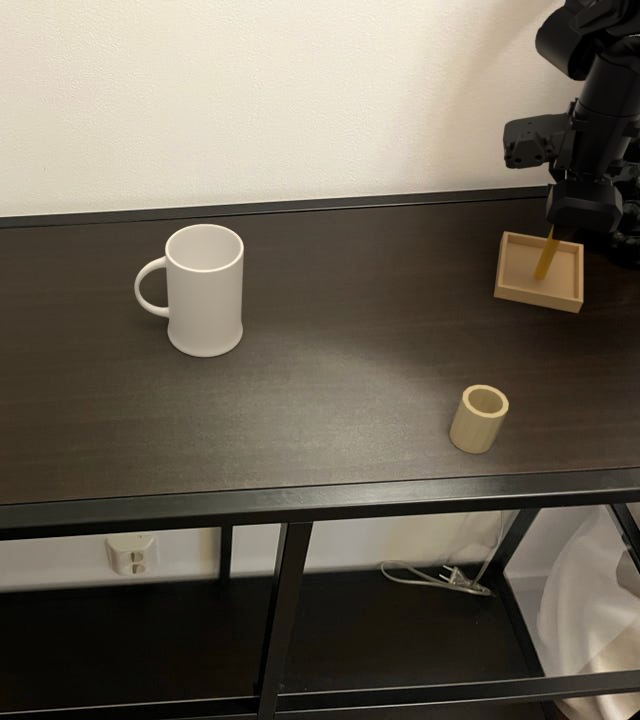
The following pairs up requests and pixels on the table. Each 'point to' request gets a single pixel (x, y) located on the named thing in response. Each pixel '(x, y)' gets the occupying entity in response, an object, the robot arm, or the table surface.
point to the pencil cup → (478, 418)
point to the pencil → (546, 257)
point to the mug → (201, 289)
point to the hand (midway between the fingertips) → (556, 235)
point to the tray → (520, 265)
